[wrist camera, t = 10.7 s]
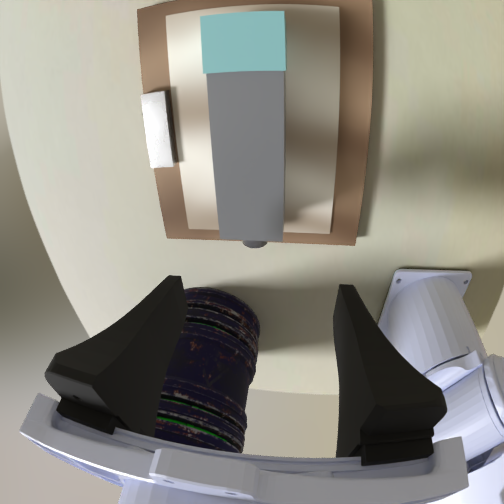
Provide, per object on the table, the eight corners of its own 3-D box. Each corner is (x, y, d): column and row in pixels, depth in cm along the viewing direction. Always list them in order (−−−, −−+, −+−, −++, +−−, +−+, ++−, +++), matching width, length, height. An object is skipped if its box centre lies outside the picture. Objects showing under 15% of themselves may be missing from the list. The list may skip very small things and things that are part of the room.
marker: (285, 227, 21) (283, 261, 18) (230, 225, 22) (219, 258, 18) (286, 21, 13) (284, 10, 10) (218, 24, 14) (200, 16, 11)
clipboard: (353, 238, 22) (356, 252, 21) (171, 231, 24) (163, 244, 22) (368, 0, 12) (375, -5, 11) (144, 11, 14) (131, 8, 13)
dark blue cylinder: (162, 338, 32) (117, 459, 20) (164, 274, 27) (93, 425, 14) (249, 362, 33) (227, 490, 21) (273, 303, 27) (252, 471, 15)
